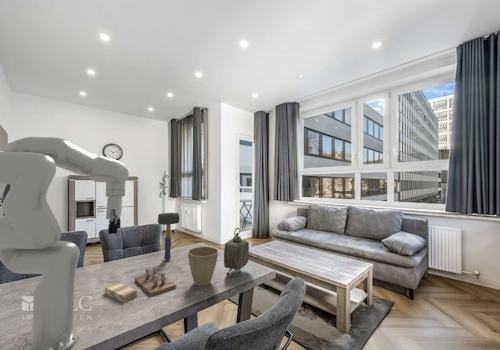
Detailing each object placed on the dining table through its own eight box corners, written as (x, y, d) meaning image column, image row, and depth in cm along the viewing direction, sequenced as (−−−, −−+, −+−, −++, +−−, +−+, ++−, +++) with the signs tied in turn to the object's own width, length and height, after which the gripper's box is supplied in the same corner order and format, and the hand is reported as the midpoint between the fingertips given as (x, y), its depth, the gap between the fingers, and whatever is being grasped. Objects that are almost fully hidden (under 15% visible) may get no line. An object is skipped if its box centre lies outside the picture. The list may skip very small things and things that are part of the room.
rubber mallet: (157, 263, 138) (159, 214, 139) (156, 259, 144) (157, 212, 145) (178, 260, 144) (180, 213, 145) (176, 256, 150) (177, 211, 151)
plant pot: (181, 282, 113) (182, 250, 114) (206, 274, 124) (207, 245, 124) (197, 293, 103) (198, 258, 103) (223, 283, 113) (224, 251, 114)
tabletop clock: (234, 267, 135) (235, 225, 136) (249, 269, 132) (249, 226, 132) (223, 276, 122) (224, 229, 122) (238, 279, 118) (239, 231, 119)
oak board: (136, 297, 100) (137, 290, 100) (123, 303, 94) (123, 296, 94) (118, 288, 106) (118, 282, 107) (104, 294, 101) (105, 287, 101)
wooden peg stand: (176, 287, 108) (176, 273, 108) (150, 296, 100) (150, 281, 100) (158, 274, 122) (159, 262, 122) (134, 281, 114) (135, 268, 114)
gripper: (109, 191, 109) (108, 227, 109) (101, 194, 93) (100, 236, 93) (127, 191, 112) (126, 226, 112) (122, 194, 96) (121, 235, 96)
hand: (114, 230), depth 102 cm, fingers open, 9 cm apart
